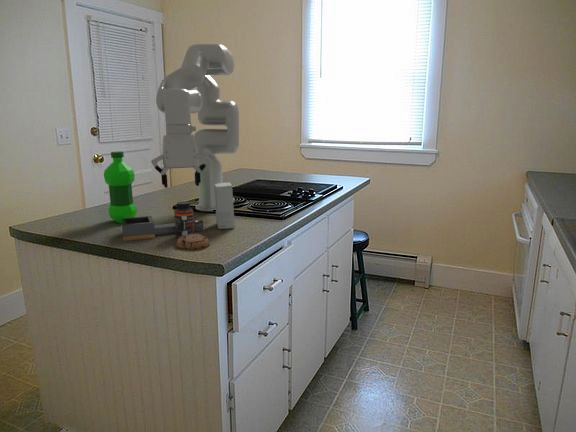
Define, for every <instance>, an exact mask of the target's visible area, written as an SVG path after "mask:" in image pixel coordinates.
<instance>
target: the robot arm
mask: <svg viewBox="0 0 576 432" xmlns="http://www.w3.org/2000/svg"><path fill="white" fill-rule="evenodd" d="M234 69H235V60H234V57H233V54H232V52H231V51H230V50H229V49H228V48H227V47H226V46H224V45H223V44H220V43H196V44H192V45H190V46H188V48H187V50H186V52H185V55H184V58H183V61H182V63H181V67H180V68H178V69H176V70H174V71H173V72H171V73H170V74H168V75H166V76H165V77H164V78H163V79H162V80H161V82H160V83H159V86H158V89H157V91H156V96H155V103H156V107H157V109H158V110H159V111H160V112H161V113H163V114H164V118H165V134H163V136H162V137H163V138H162V154H160V155H158V156H157V157H155V158H153V159H151V161H150V163H151V164H152V166H153V167H154V169H155V170H156V171H157V172H158V173H159V174H161V185H162V186H164V188H166V189H167V188H169V186H168V175H167V172H168V170H169V169H185V168H186V169H188V168H193V169H194V171H195V172H194V183H195V186H197V187H198V200H199V201H198V202H199V203H198V204H196V205H195V210H196V211H200V212H214V211H213V210H216V209H215V191H214V184H216V183H223V165H222V162H221V160H220V159H219V158H218V157H217V155H218V154H220V155H221V154H223V155H225V154H226V155H227V154H228V155H229V154H232V155H233V154H236V153H237V152H238V150H239V147H240V112H239V108H238V104H237V103H236V102H235V101H233V100H221V98H220V96H221V93H220V91H221V90H220V86H219V85H218V84H217V82H216V80H215V79H214V78H213V77H212V76H230V75H232V73H233V72H234ZM194 88H196V89H194ZM191 114H197V120H198V122H199V124H201V125H203V126H209V127H210V126H213V127H214V126H215V127H216V126H217V127H219V126H220V127H221V126H223V127H224V126H225V127H226V128H203V129H199V130H197V128H196V126H193V125H192V120H191V119H192V118H191ZM195 131H196V132H195ZM193 132H195V133H194V134H192V133H193ZM160 161H162V163H163V167H162V168H161V167H160V166H159V165H158V163H159V162H160ZM233 203H236V199H235V197H233Z"/></svg>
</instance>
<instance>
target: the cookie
mask: <svg viewBox="0 0 576 432" xmlns="http://www.w3.org/2000/svg"><path fill="white" fill-rule="evenodd" d="M209 246H210V240H209V237H207V236H205V235H202V234H201V233H194V234H189V235H187V236H186V237H185V236H184V235H183V236H181V237H179V238H177V241H176V247H177V249H180V250H181V249H183V250H187V251H188V250H190V251H195V250H196V249H197V250H203V249H202V248H204V249H207V248H208V247H209Z"/></svg>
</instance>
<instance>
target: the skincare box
mask: <svg viewBox="0 0 576 432" xmlns="http://www.w3.org/2000/svg"><path fill="white" fill-rule="evenodd" d="M214 191H215V209H216V211H215V220H216V223H215V224H216V226H217V229H218V230H223V229H229V230H230V229H235V227H236V226H235V210H234V202H233V198H234V195H233V194H234V193H233V184H231V182H222V183H216V184H214Z"/></svg>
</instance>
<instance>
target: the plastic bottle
mask: <svg viewBox="0 0 576 432" xmlns="http://www.w3.org/2000/svg"><path fill="white" fill-rule="evenodd" d="M124 155H125V154H124V151H111V152H110V157H111V159H112V162H111V163H110V164H109V165H108V166H107V167H106V168H105V169H104V172H103V178H104V182H105V183H106V184H107V185H108V190H109V201H110V204H109V207H108V214H109V217H110V218H111V219H112V220H113V221H114V222H116V223H119V224H120V223H121V224H122V222H121V218H131V217H136V216H137V207H136V205H135V203H134V198H133V188H132V184H133V182H134V181H135V178H136V177H135V172H134V170H133V168H132V167H130V166H129V165H128V163H125V162H124V161H123V158H124V157H125V156H124Z"/></svg>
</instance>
